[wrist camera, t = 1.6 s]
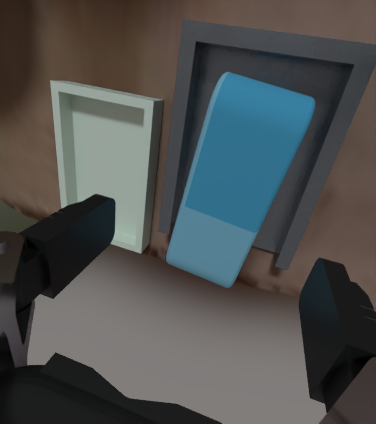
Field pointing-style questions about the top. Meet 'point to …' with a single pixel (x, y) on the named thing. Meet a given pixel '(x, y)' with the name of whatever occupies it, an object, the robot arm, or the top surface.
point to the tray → (109, 153)
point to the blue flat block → (236, 174)
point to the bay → (281, 77)
